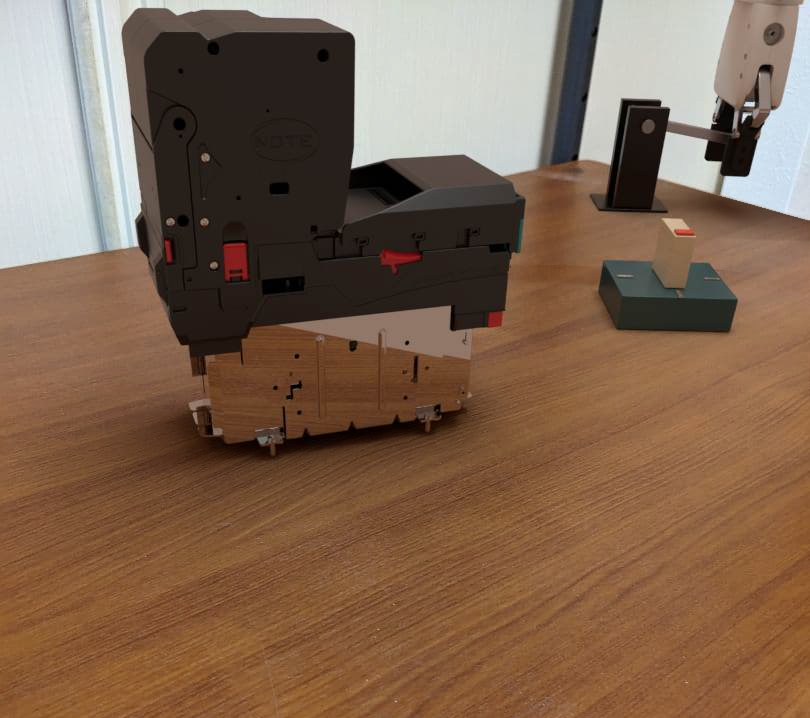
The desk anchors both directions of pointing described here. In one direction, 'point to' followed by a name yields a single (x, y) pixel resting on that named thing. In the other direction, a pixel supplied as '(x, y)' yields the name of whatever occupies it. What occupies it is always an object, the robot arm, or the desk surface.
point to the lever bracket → (636, 158)
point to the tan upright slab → (673, 253)
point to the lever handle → (699, 132)
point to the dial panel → (666, 298)
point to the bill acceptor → (303, 232)
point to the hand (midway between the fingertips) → (725, 166)
